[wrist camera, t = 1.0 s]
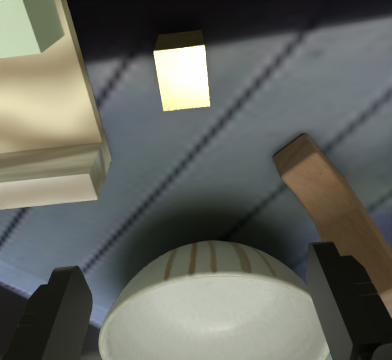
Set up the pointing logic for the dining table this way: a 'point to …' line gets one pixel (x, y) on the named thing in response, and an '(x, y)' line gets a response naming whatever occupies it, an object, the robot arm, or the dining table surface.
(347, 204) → the wooden block
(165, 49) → the brass block
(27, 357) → the robot arm
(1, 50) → the block
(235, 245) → the decorative bowl
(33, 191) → the vise
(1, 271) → the dining table surface
